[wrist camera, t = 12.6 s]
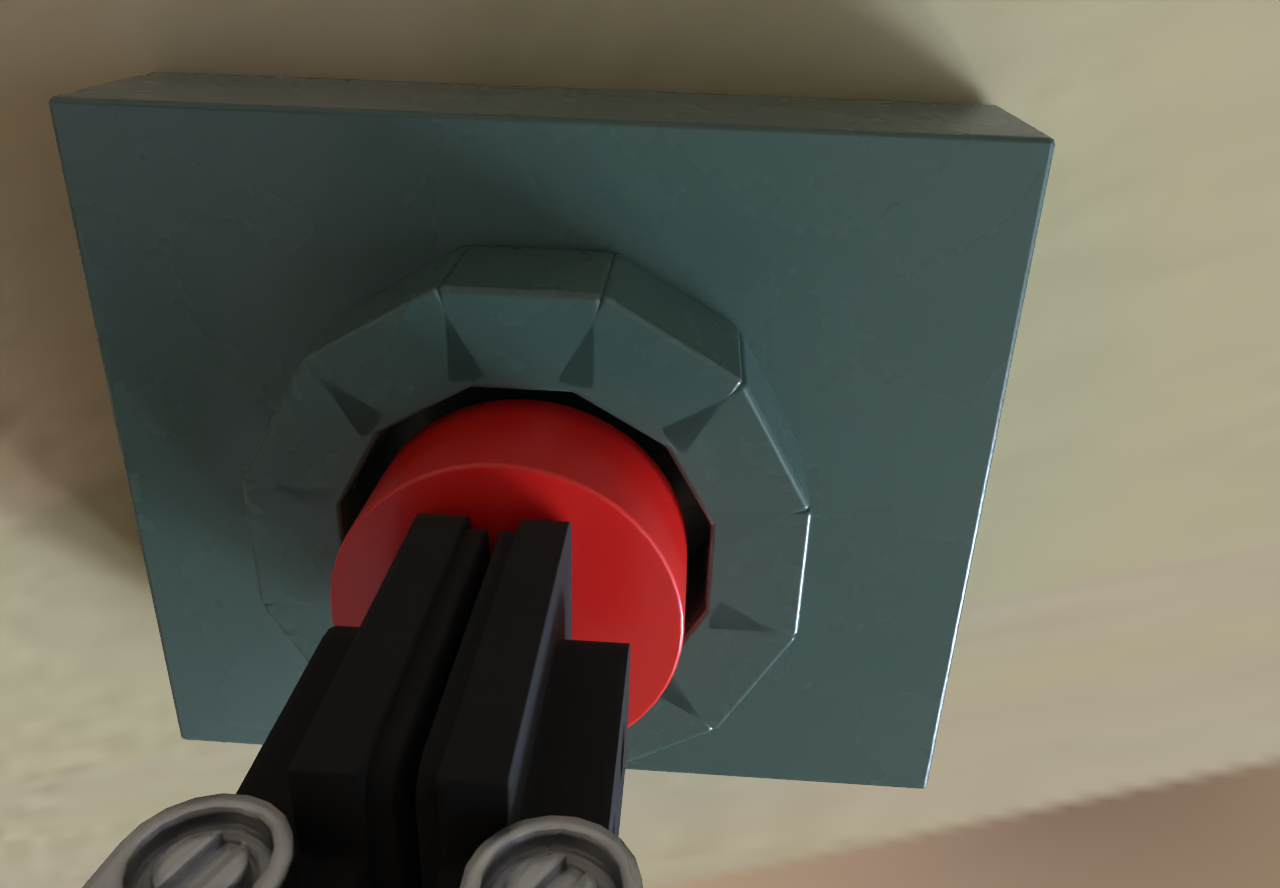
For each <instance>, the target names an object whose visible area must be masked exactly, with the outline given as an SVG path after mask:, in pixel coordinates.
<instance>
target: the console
mask: <svg viewBox="0 0 1280 888" xmlns="http://www.w3.org/2000/svg"><path fill="white" fill-rule="evenodd" d="M49 107H50V112H51V117H52V122H53V126H54V131H55V136H56V141H57V145H58V150H59V155H60V160H61V164H62V169H63V174H64V179H65V184H66V188H67V193H68V198H69V203H70V207H71V212H72V217H73V222H74V226H75V231H76V236H77V241H78V246H79V250H80V255H81V260H82V265H83V269H84V274H85V279H86V284H87V288H88V293H89V298H90V303H91V308H92V312H93V317H94V322H95V327H96V331H97V336H98V341H99V346H100V350H101V355H102V360H103V365H104V370H105V374H106V379H107V384H108V389H109V393H110V398H111V403H112V408H113V412H114V417H115V422H116V427H117V432H118V436H119V441H120V446H121V451H122V455H123V460H124V465H125V470H126V474H127V479H128V484H129V489H130V494H131V498H132V503H133V508H134V513H135V517H136V522H137V527H138V532H139V536H140V541H141V546H142V551H143V556H144V560H145V565H146V570H147V575H148V579H149V584H150V589H151V594H152V598H153V603H154V608H155V613H156V618H157V622H158V627H159V632H160V637H161V641H162V646H163V651H164V656H165V660H166V665H167V670H168V675H169V680H170V684H171V689H172V694H173V699H174V703H175V708H176V713H177V718H178V723H179V727H180V732H181V737H182V738H183V739H187V740H202V741H217V742H232V743H247V744H262V745H263V744H264V742H265V741H266V739H267V737H268V735H269V733H270V732H271V730H272V728H273V726H274V724H275V723H276V721H277V719H278V717H279V715H280V713H281V712H282V710H283V708H284V706H285V704H286V703H287V701H288V699H289V697H290V695H291V694H292V692H293V690H294V688H295V686H296V684H297V683H298V681H299V679H300V677H301V675H302V674H303V672H304V670H305V668H306V666H307V665H308V663H309V661H310V659H311V657H312V656H313V654H314V652H315V650H316V648H317V646H318V645H319V643H320V641H321V639H322V637H323V636H324V635H325V633H326V632H327V631H328V629H329V628H331V627H333V626H334V624H333V619H332V614H331V600H330V587H331V579H332V571H333V568H334V564H335V561H336V557H337V554H338V551H339V549H340V547H341V545H342V543H343V541H344V539H345V536H346V535H347V533H348V531H349V530H350V528H351V526H352V525H353V523H354V521H355V520H356V518H357V517H358V515H359V513H360V512H361V510H362V508H363V507H364V505H365V503H366V502H367V500H368V498H369V497H370V495H371V494H372V492H373V490H374V489H375V487H376V485H377V484H378V482H379V480H380V479H381V477H382V475H383V474H384V472H385V471H386V469H387V467H388V466H389V464H390V463H391V461H392V460H393V458H394V457H395V455H396V454H397V453H398V451H399V450H400V449H401V448H402V447H403V446H404V445H405V444H406V443H407V442H408V440H409V439H410V438H411V437H413V436H414V435H415V434H416V433H418V432H419V431H420V430H421V429H423V428H424V427H425V426H426V425H428V424H430V423H432V422H433V421H435V420H437V419H439V418H440V417H442V416H444V415H446V414H448V413H451V412H453V411H456V410H458V409H461V408H463V407H467V406H471V405H475V404H478V403H482V402H489V401H496V400H504V399H530V400H539V401H548V402H552V403H557V404H561V405H565V406H569V407H572V408H575V409H578V410H581V411H583V412H586V413H589V414H591V415H593V416H595V417H597V418H599V419H601V420H603V421H605V422H607V423H609V424H611V425H612V426H614V427H615V428H617V429H618V430H620V431H621V432H623V433H624V434H626V435H627V436H629V437H630V438H631V439H632V440H633V441H634V442H636V443H637V444H638V445H639V446H640V447H641V448H643V449H644V450H645V451H646V452H647V454H648V455H649V456H650V457H651V458H652V459H653V460H654V461H655V462H656V464H657V465H658V466H659V467H660V469H661V470H662V472H663V473H664V475H665V476H666V478H667V479H668V481H669V482H670V484H671V486H672V488H673V490H674V492H675V494H676V496H677V498H678V501H679V504H680V507H681V510H682V513H683V516H684V521H685V527H686V532H687V576H686V603H685V630H684V638H683V645H682V651H681V655H680V658H679V661H678V664H677V668H676V670H675V672H674V674H673V676H672V678H671V680H670V682H669V684H668V686H667V688H666V689H665V690H664V692H663V693H662V695H661V696H660V698H659V699H658V700H657V702H656V703H655V704H654V705H653V706H652V707H651V708H650V709H649V710H648V711H647V712H646V713H645V714H644V716H643V717H641V718H640V719H639V720H638V721H636V722H635V723H634V724H633V725H631V726H630V727H629V728H628V733H627V748H626V762H625V769H637V770H652V771H667V772H682V773H697V774H712V775H727V776H742V777H757V778H772V779H787V780H802V781H817V782H832V783H847V784H862V785H877V786H892V787H907V788H925V787H926V786H927V782H928V777H929V772H930V767H931V762H932V757H933V752H934V747H935V742H936V737H937V732H938V727H939V722H940V717H941V712H942V707H943V702H944V697H945V692H946V687H947V682H948V677H949V672H950V667H951V662H952V657H953V652H954V647H955V642H956V637H957V632H958V627H959V622H960V617H961V612H962V607H963V602H964V597H965V592H966V587H967V582H968V577H969V572H970V567H971V562H972V557H973V552H974V547H975V542H976V537H977V532H978V527H979V522H980V517H981V512H982V507H983V502H984V497H985V492H986V487H987V482H988V477H989V472H990V467H991V462H992V457H993V452H994V447H995V442H996V437H997V432H998V427H999V422H1000V417H1001V412H1002V407H1003V402H1004V397H1005V392H1006V387H1007V382H1008V377H1009V372H1010V367H1011V362H1012V357H1013V352H1014V347H1015V342H1016V337H1017V332H1018V327H1019V322H1020V317H1021V312H1022V307H1023V302H1024V297H1025V292H1026V287H1027V282H1028V277H1029V272H1030V266H1031V261H1032V256H1033V251H1034V246H1035V241H1036V236H1037V231H1038V226H1039V221H1040V216H1041V211H1042V206H1043V201H1044V196H1045V191H1046V186H1047V181H1048V176H1049V171H1050V166H1051V161H1052V156H1053V151H1054V146H1055V143H1054V139H1052V138H1051V137H1049V136H1047V135H1046V134H1044V133H1042V132H1041V131H1039V130H1037V129H1035V128H1034V127H1032V126H1030V125H1029V124H1027V123H1025V122H1024V121H1022V120H1020V119H1018V118H1017V117H1015V116H1013V115H1012V114H1010V113H1008V112H1007V111H1005V110H1003V109H1002V108H1000V107H998V106H996V105H975V104H950V103H925V102H900V101H875V100H850V99H825V98H800V97H775V96H750V95H724V94H699V93H674V92H649V91H624V90H599V89H574V88H549V87H524V86H499V85H474V84H448V83H423V82H398V81H373V80H348V79H323V78H298V77H273V76H248V75H223V74H198V73H173V72H152V73H148V74H144V75H140V76H136V77H132V78H128V79H123V80H119V81H115V82H111V83H107V84H103V85H99V86H95V87H91V88H86V89H82V90H78V91H74V92H70V93H66V94H62V95H58V96H54V97H52V98H50V99H49Z"/></svg>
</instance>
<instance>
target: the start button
mask: <svg viewBox="0 0 1280 888" xmlns="http://www.w3.org/2000/svg"><path fill="white" fill-rule="evenodd" d="M421 513H422V514H440V515H458V516H469V518H470V519H471V523H472V529H477V530H487V532H488V536H489V548H490V559H491V556H492V553H493V550H494V547H495V545H496V542H497V539H498V536H499V534H500V532H501V531H513V532H516V530H517V527H518V524H519V522H520V520H521V519H530V520H548V521H566V522H571V528H572V640H584V641H601V642H617V643H630V688H629V714H628V728H629V727H630V726H631V725H633V724H634V723H635V722H636V721H638V720H639V719H640V718H641V717H643V716H644V714H645V713H646V712H647V711H648V710H649V709H650V708H651V707H652V706H653V705H654V704H655V703H656V702H657V700H658V699H659V698H660V696H661V695H662V693H663V692H664V690H665V689H666V688H667V686H668V684H669V682H670V680H671V678H672V676H673V674H674V672H675V670H676V668H677V664H678V661H679V658H680V655H681V651H682V645H683V638H684V630H685V603H686V576H687V532H686V527H685V521H684V516H683V513H682V510H681V507H680V504H679V501H678V498H677V496H676V494H675V492H674V490H673V488H672V486H671V484H670V482H669V481H668V479H667V478H666V476H665V475H664V473H663V472H662V470H661V469H660V467H659V466H658V465H657V464H656V462H655V461H654V460H653V459H652V458H651V457H650V456H649V455H648V454H647V452H646V451H645V450H644V449H643V448H641V447H640V446H639V445H638V444H637V443H636V442H634V441H633V440H632V439H631V438H630V437H629V436H627V435H626V434H624V433H623V432H621V431H620V430H618V429H617V428H615V427H614V426H612V425H611V424H609V423H607V422H605V421H603V420H601V419H599V418H597V417H595V416H593V415H591V414H589V413H586V412H583V411H581V410H578V409H575V408H572V407H569V406H565V405H561V404H557V403H552V402H548V401H539V400H530V399H504V400H496V401H489V402H482V403H478V404H475V405H471V406H467V407H463V408H461V409H458V410H456V411H453V412H451V413H448V414H446V415H444V416H442V417H440V418H439V419H437V420H435V421H433V422H432V423H430V424H428V425H426V426H425V427H424V428H423V429H421V430H420V431H419V432H418V433H416V434H415V435H414V436H413V437H411V438H410V439H409V440H408V442H407V443H406V444H405V445H404V446H403V447H402V448H401V449H400V450H399V451H398V453H397V454H396V455H395V457H394V458H393V460H392V461H391V463H390V464H389V466H388V467H387V469H386V471H385V472H384V474H383V475H382V477H381V479H380V480H379V482H378V484H377V485H376V487H375V489H374V490H373V492H372V494H371V495H370V497H369V498H368V500H367V502H366V503H365V505H364V507H363V508H362V510H361V512H360V513H359V515H358V517H357V518H356V520H355V521H354V523H353V525H352V526H351V528H350V530H349V531H348V533H347V535H346V536H345V539H344V541H343V543H342V545H341V547H340V549H339V551H338V554H337V557H336V561H335V564H334V568H333V571H332V579H331V587H330V600H331V614H332V619H333V624H334V626H351V627H360V625H361V623H362V621H363V620H364V618H365V616H366V614H367V612H368V610H369V608H370V606H371V604H372V602H373V600H374V598H375V596H376V594H377V592H378V590H379V588H380V586H381V584H382V582H383V580H384V578H385V576H386V574H387V572H388V570H389V568H390V566H391V564H392V562H393V560H394V558H395V556H396V554H397V552H398V550H399V548H400V546H401V545H402V543H403V541H404V539H405V537H406V535H407V533H408V531H409V529H410V527H411V525H412V523H413V521H414V519H415V517H416V516H417V515H418V514H421Z"/></svg>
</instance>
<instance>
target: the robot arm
mask: <svg viewBox="0 0 1280 888" xmlns="http://www.w3.org/2000/svg"><path fill="white" fill-rule="evenodd" d="M629 688H630V643H617V642H601V641H584V640H572V528H571V522H566V521H548V520H530V519H521V520H520V522H519V524H518V527H517V530H516V532H513V531H501V532H500V534H499V536H498V539H497V542H496V545H495V547H494V550H493V553H492V556H491V559H490V548H489V536H488V532H487V530H477V529H472V523H471V519H470V518H469V516H458V515H440V514H422V513H421V514H418V515H417V516H416V517H415V519H414V521H413V523H412V525H411V527H410V529H409V531H408V533H407V535H406V537H405V539H404V541H403V543H402V545H401V546H400V548H399V550H398V552H397V554H396V556H395V558H394V560H393V562H392V564H391V566H390V568H389V570H388V572H387V574H386V576H385V578H384V580H383V582H382V584H381V586H380V588H379V590H378V592H377V594H376V596H375V598H374V600H373V602H372V604H371V606H370V608H369V610H368V612H367V614H366V616H365V618H364V620H363V621H362V623H361V625H360V627H351V626H333V627H331V628H329V629H328V631H327V632H326V633H325V635H324V636H323V637H322V639H321V641H320V643H319V645H318V646H317V648H316V650H315V652H314V654H313V656H312V657H311V659H310V661H309V663H308V665H307V666H306V668H305V670H304V672H303V674H302V675H301V677H300V679H299V681H298V683H297V684H296V686H295V688H294V690H293V692H292V694H291V695H290V697H289V699H288V701H287V703H286V704H285V706H284V708H283V710H282V712H281V713H280V715H279V717H278V719H277V721H276V723H275V724H274V726H273V728H272V730H271V732H270V733H269V735H268V737H267V739H266V741H265V742H264V744H263V746H262V748H261V750H260V751H259V753H258V755H257V757H256V759H255V761H254V762H253V764H252V766H251V768H250V770H249V771H248V773H247V775H246V777H245V779H244V780H243V782H242V784H241V786H240V788H239V789H238V791H237V793H236V794H223V793H222V794H216V795H210V796H204V797H197V798H193V799H190V800H188V801H185V802H182V803H179V804H177V805H174V806H171V807H168V808H166V809H164V810H163V811H161V812H159V813H158V814H156V815H154V816H153V817H151V818H149V819H148V820H146V821H144V822H143V823H141V824H140V825H139V826H138V827H137V828H136V829H135V830H133V831H132V832H131V833H130V834H129V835H128V836H127V837H126V838H125V839H124V840H123V841H122V842H121V843H120V844H119V845H118V846H117V847H116V848H115V849H114V851H113V852H112V853H111V854H110V855H109V856H108V858H107V859H106V860H105V861H104V862H103V864H102V865H101V866H100V867H99V868H98V869H97V871H96V872H95V873H94V874H93V875H92V876H91V878H90V879H89V880H88V881H87V882H86V884H85V885H84V886H83V887H82V888H643V884H642V878H641V875H640V871H639V868H638V865H637V862H636V859H635V856H634V855H633V854H632V853H631V851H630V850H629V849H628V847H627V846H626V845H625V844H624V842H623V841H622V840H621V839H620V838H619V837H618V835H619V825H620V815H621V805H622V795H623V785H624V774H625V762H626V748H627V733H628V714H629Z"/></svg>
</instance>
